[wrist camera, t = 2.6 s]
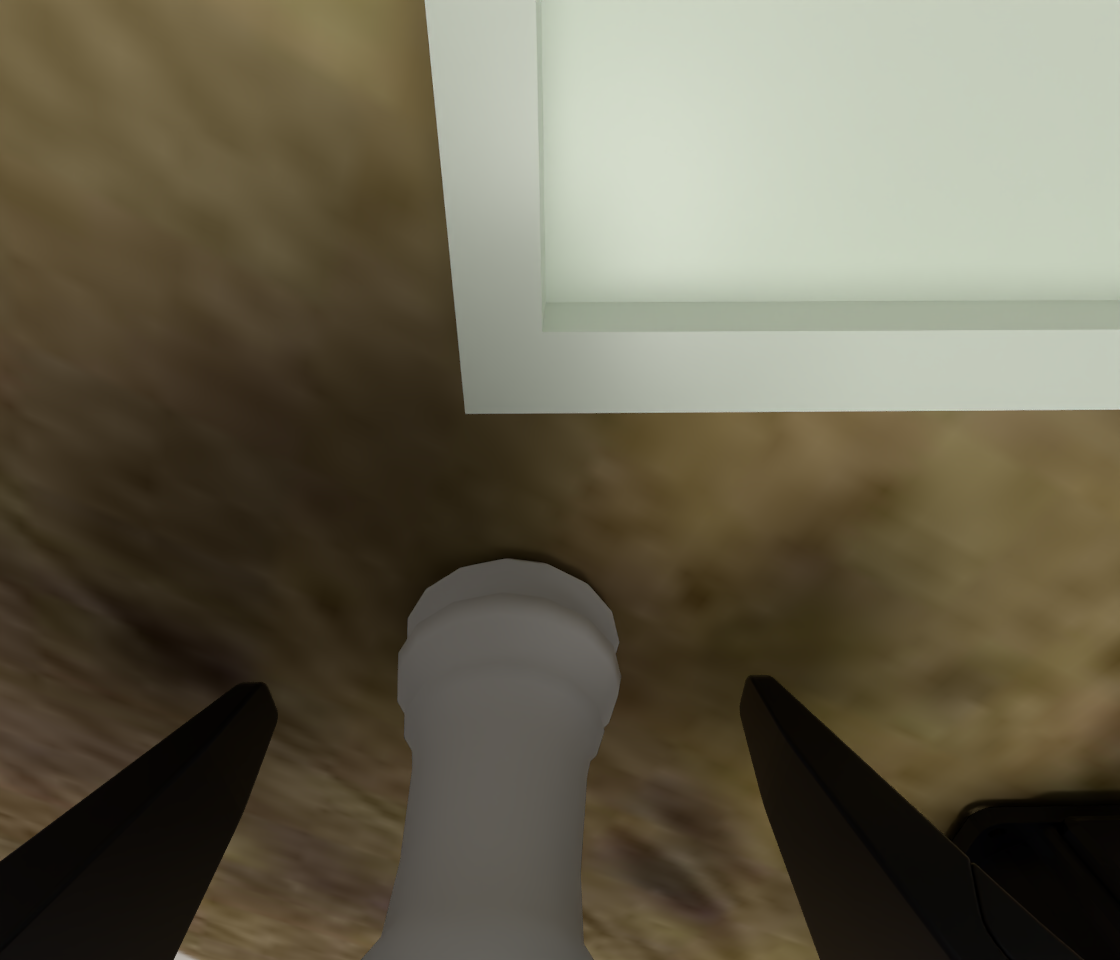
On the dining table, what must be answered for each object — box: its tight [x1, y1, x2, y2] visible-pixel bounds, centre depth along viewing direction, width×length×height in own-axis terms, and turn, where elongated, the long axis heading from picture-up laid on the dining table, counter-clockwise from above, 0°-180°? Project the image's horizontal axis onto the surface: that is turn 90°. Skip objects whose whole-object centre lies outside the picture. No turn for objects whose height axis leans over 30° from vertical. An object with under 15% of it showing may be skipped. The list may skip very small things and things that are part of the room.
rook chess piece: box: [361, 558, 621, 960], centre depth 7 cm, size 4×4×8 cm
